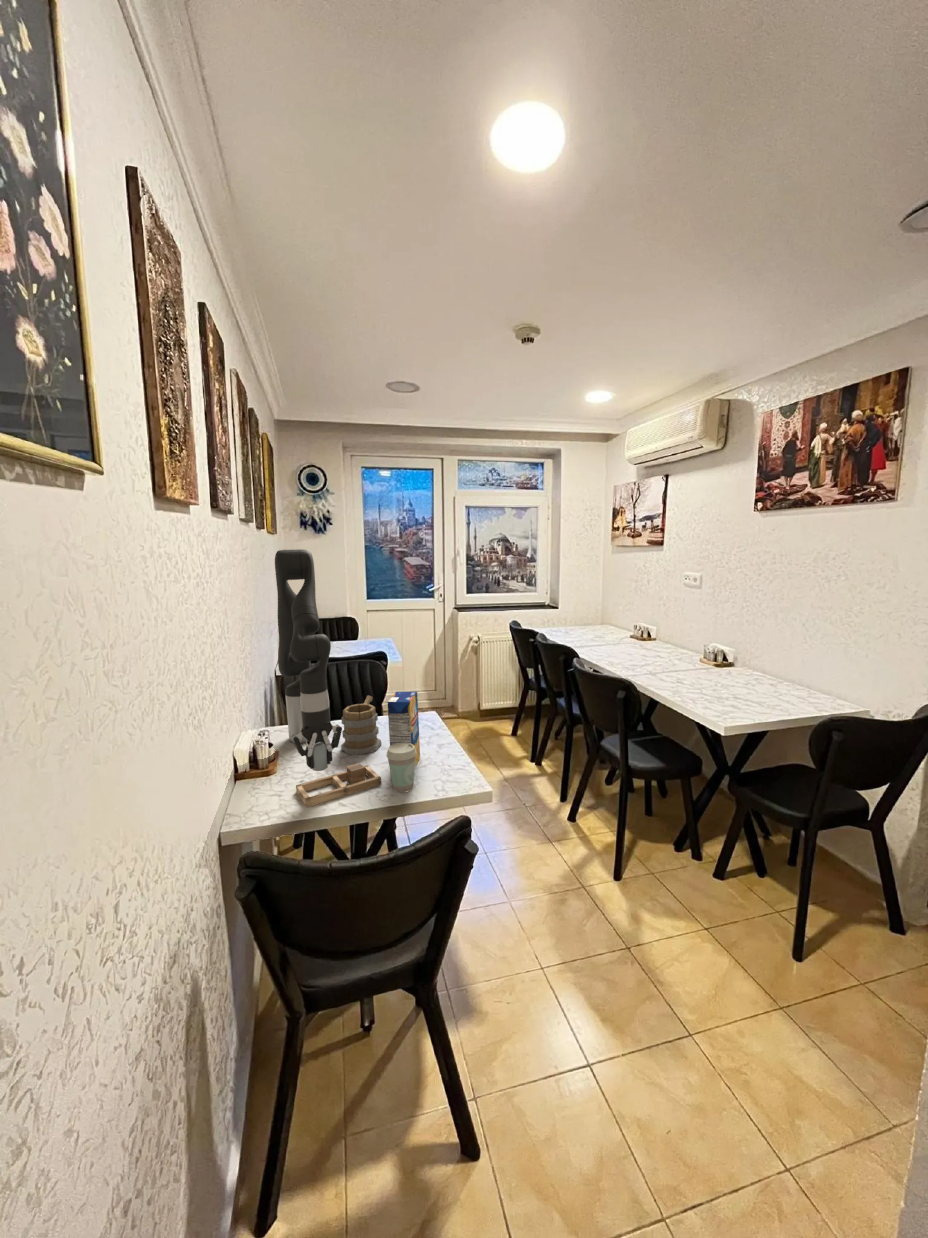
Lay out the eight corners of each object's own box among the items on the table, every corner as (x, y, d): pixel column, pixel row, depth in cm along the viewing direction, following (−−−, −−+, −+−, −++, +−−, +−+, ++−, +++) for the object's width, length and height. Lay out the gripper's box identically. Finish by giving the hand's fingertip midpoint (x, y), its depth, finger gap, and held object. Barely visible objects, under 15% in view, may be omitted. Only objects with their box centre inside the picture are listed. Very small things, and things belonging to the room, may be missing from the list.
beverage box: (391, 770, 152) (387, 702, 149) (399, 755, 163) (396, 691, 160) (413, 771, 151) (409, 702, 148) (420, 756, 162) (417, 691, 159)
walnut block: (347, 782, 145) (346, 766, 145) (360, 778, 148) (359, 762, 147) (352, 787, 142) (351, 771, 141) (365, 783, 144) (364, 767, 144)
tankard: (372, 755, 164) (370, 712, 162) (337, 754, 166) (333, 711, 164) (391, 732, 183) (388, 694, 181) (358, 732, 185) (356, 693, 183)
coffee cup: (405, 797, 135) (403, 756, 134) (382, 790, 140) (379, 750, 138) (424, 784, 142) (422, 745, 141) (401, 778, 147) (399, 739, 145)
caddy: (296, 792, 140) (295, 785, 140) (367, 771, 152) (367, 765, 152) (307, 807, 132) (306, 800, 132) (381, 784, 144) (381, 777, 143)
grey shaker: (310, 767, 138) (308, 743, 138) (324, 763, 141) (322, 739, 140) (315, 772, 135) (313, 748, 134) (330, 768, 138) (328, 744, 137)
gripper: (335, 698, 143) (339, 754, 145) (285, 708, 135) (290, 767, 137) (345, 704, 136) (349, 763, 139) (292, 715, 129) (297, 777, 131)
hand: (319, 765), depth 138 cm, fingers closed on grey shaker, 4 cm apart
